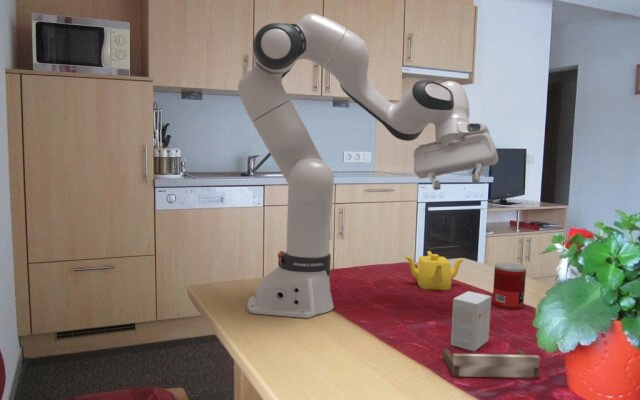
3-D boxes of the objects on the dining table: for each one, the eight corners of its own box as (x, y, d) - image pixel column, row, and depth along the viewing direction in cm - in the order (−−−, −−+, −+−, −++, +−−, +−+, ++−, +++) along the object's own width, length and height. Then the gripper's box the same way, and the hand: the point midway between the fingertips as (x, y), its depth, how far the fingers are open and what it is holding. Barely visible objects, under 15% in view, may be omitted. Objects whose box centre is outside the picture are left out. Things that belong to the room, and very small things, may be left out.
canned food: (525, 311, 137) (528, 270, 136) (494, 308, 139) (496, 268, 138) (520, 302, 145) (523, 263, 144) (490, 300, 146) (493, 261, 145)
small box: (465, 335, 119) (467, 290, 117) (489, 341, 115) (492, 295, 114) (449, 345, 112) (452, 297, 111) (474, 352, 109) (477, 303, 108)
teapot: (427, 276, 171) (428, 247, 170) (465, 286, 160) (467, 255, 159) (400, 284, 161) (401, 253, 159) (439, 294, 150) (440, 262, 149)
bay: (453, 376, 97) (454, 355, 97) (443, 358, 105) (444, 339, 105) (538, 377, 97) (539, 357, 97) (521, 360, 105) (522, 341, 105)
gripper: (409, 140, 134) (410, 186, 127) (491, 121, 125) (496, 170, 118) (417, 153, 138) (418, 198, 132) (496, 136, 129) (502, 184, 123)
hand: (456, 185), depth 125 cm, fingers open, 8 cm apart
